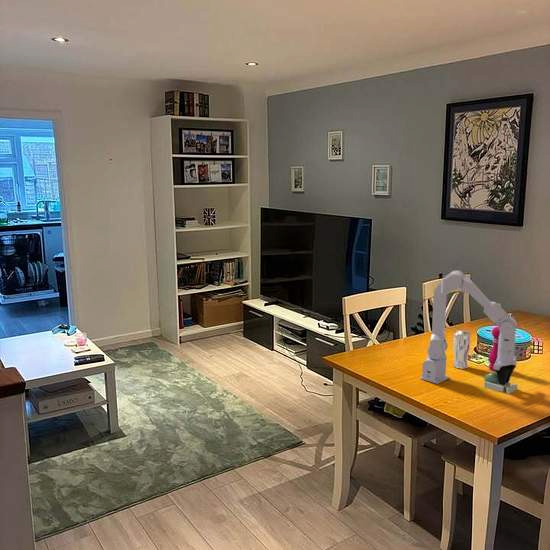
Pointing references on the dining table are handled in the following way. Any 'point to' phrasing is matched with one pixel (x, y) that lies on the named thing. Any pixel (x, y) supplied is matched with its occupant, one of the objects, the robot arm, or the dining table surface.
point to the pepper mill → (494, 348)
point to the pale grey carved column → (461, 348)
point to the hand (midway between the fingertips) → (503, 383)
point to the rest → (501, 387)
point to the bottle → (491, 377)
